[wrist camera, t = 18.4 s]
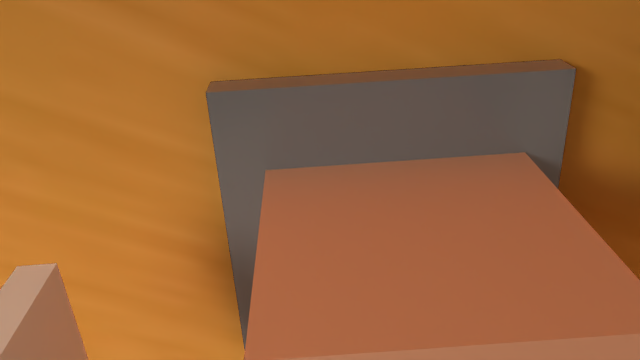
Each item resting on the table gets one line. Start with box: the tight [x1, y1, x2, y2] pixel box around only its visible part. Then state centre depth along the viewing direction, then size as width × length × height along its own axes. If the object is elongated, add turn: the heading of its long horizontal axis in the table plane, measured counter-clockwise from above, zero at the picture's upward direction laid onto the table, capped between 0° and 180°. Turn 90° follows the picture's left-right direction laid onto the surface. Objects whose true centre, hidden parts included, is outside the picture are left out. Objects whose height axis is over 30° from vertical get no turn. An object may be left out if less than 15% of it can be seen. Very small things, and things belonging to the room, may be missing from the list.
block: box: [244, 152, 640, 360], centre depth 12 cm, size 6×6×6 cm
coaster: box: [206, 59, 576, 349], centre depth 14 cm, size 8×8×1 cm
